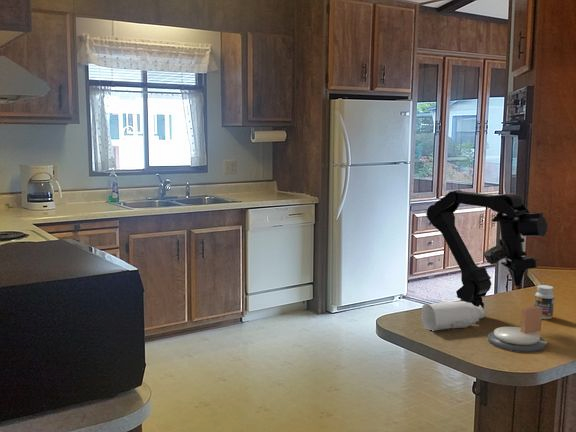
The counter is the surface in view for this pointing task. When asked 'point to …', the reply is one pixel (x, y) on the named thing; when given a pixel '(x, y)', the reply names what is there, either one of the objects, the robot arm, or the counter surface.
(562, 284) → the counter surface
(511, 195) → the robot arm
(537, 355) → the counter surface
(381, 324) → the counter surface
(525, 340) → the dial
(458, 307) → the white bottle
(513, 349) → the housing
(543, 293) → the pill bottle
